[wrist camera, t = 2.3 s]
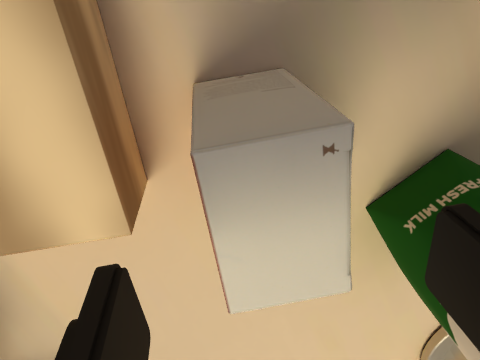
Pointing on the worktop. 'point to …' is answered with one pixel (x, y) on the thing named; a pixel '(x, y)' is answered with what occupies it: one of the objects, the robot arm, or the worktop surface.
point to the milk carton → (427, 225)
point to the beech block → (62, 130)
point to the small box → (273, 188)
